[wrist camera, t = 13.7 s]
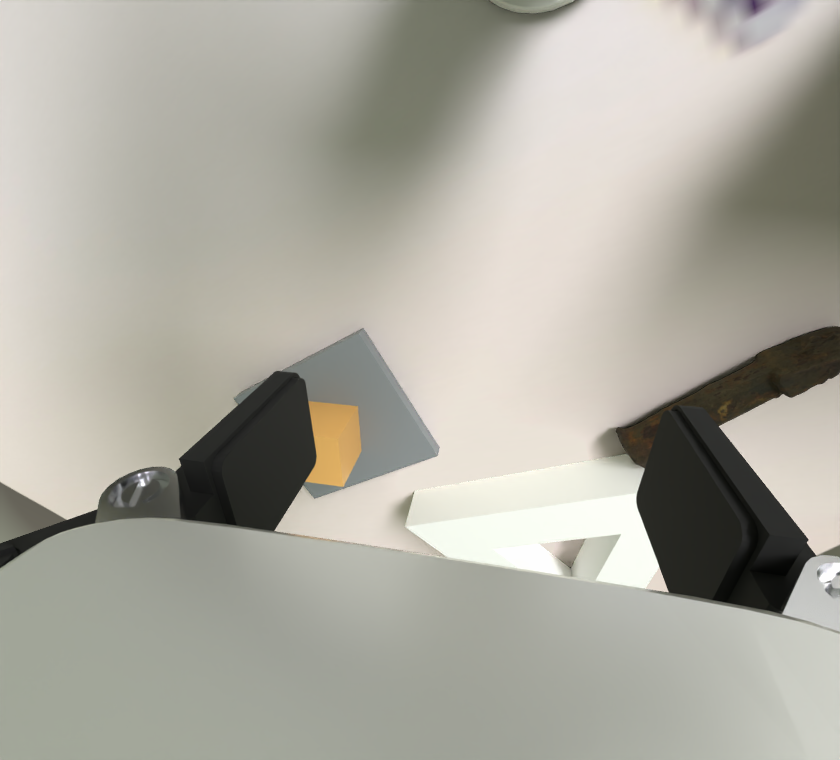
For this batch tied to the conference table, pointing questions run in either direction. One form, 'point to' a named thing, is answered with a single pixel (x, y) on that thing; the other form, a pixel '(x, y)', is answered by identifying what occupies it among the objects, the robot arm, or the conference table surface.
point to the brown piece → (751, 386)
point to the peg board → (364, 408)
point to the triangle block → (544, 520)
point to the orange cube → (334, 442)
